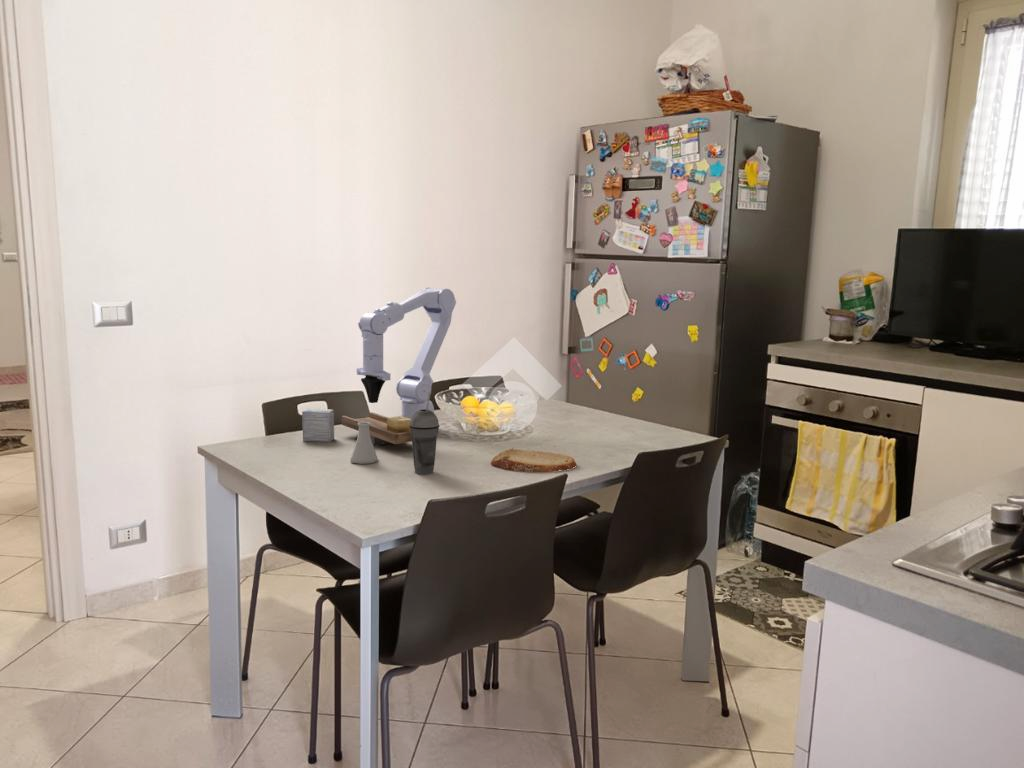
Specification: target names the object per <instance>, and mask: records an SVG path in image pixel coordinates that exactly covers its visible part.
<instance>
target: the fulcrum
mask: <svg viewBox="0 0 1024 768" xmlns="http://www.w3.org/2000/svg"><path fill="white" fill-rule="evenodd" d="M370 438H371V441H372V444H373V446H380V445H385V444H390V442H388V441H385V440H382V439H379V438H377V437H374V436H371V435H370Z"/></svg>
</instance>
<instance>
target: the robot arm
mask: <svg viewBox="0 0 1024 768" xmlns="http://www.w3.org/2000/svg"><path fill="white" fill-rule="evenodd" d="M456 304H457V300H456V298H455V294H454V291H452V290H451V289H450V288H434V287H433V288H431V287H425V288H424V289H420V290H418V292H417V293H415V294H413V295H412V296H409V298H407V299H405V300H403V301H401V302H396V301H388V302H386V305H384V306H383V307H381V308H380V307H379V308H375V309H374V311H373V312H366V313H364V314H363V315H362V316H361V318H360V319H359V322H358V324H357V325H358V329H359V330H360V332H361V337H362V367H356V375H357V376H364V377H363V378H361V379H360V381H361V382H362V384H363V386H364V390H365V392H366V396H367V399H368V403H371V404H375V403H378V402H379V398H380V393H381V391H382V388H383V386H384V385H385V383H386V381H391V373H390V372H387V371H386V370H384V334H385V333H386V332H387V330H388V328H389V327H391V326H393V325H395V324H397V323H398V322H401V321H403V320H404V318H405V314H408V313H410V312H413V311H414V310H417V309H419V308H423V309H424V311H425V313H426V314H427V315H428V316H427V317H429V318H430V320H431V322H430V325H429V327H428V329H427V332H426V335H425V337H424V339H423V342H422V344H421V346H420V349H419V350H418V354H417V356H416V358H415V360H414V363H413V364H412V367H411V368H409V369H407V370H406V371H404V373H403V376H401V378H400V379H399V380H398V381H397V383H396V387H395V388H396V389H395V390H396V394H397V395H398V396H399V397H400V398H399V401H401V416H403V417H406V418H409V419H411V418H412V416H413V415H414V413H416V412H417V411H419V410H422V409H426V406H427V398H428V392H430V395H431V394H432V385H433V383H434V380H433V378H432V376H431V374H430V373H431V372H432V369H433V366H434V364H435V361H436V359H437V357H438V355H439V352H440V349H441V347H442V345H443V342H444V340H445V339H446V338H445V337H446V336H447V333H448V331H449V328H450V325H451V322H452V318H453V317H452V316H453V311H454V309H455V306H456ZM428 410H430V411H432V412H433V413H434V414H435V407H434V404H433V402H432V401H431V400H430V399H429V407H428Z"/></svg>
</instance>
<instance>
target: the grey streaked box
mask: <svg viewBox="0 0 1024 768" xmlns="http://www.w3.org/2000/svg"><path fill="white" fill-rule="evenodd" d="M334 412H335V411H334V409H327V408H325V409H324V408H322V409H321V408H307V409H304V410H302V412H301V416H302V418H301V419H302V423H301V424H302V441H303V442H319V443H321V442H322V443H323V442H324V443H326V442H327V443H330V442H332V441H333V440H334V439H335V417H334V416H335V414H334Z"/></svg>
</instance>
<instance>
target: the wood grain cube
mask: <svg viewBox="0 0 1024 768" xmlns="http://www.w3.org/2000/svg"><path fill="white" fill-rule="evenodd" d="M410 420H411V419H409V418H406V417H403V416H402V415H401V416H396V417H388V418H387V430H388V431H391V432H394V433H396V434H397V433H403V432H410V427H409V425H410Z"/></svg>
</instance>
